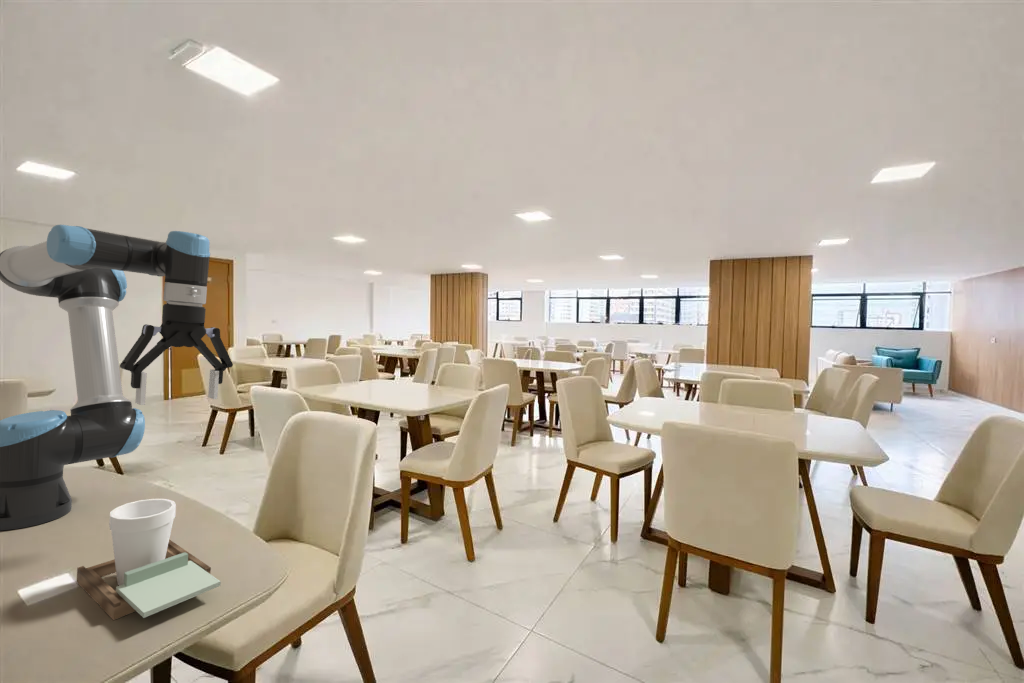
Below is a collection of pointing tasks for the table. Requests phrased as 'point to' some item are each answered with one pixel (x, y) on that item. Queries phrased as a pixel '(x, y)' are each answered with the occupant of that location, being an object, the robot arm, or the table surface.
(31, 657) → the table surface
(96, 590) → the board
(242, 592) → the table surface
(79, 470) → the table surface
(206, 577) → the cover
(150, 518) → the foam cup
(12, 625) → the table surface
